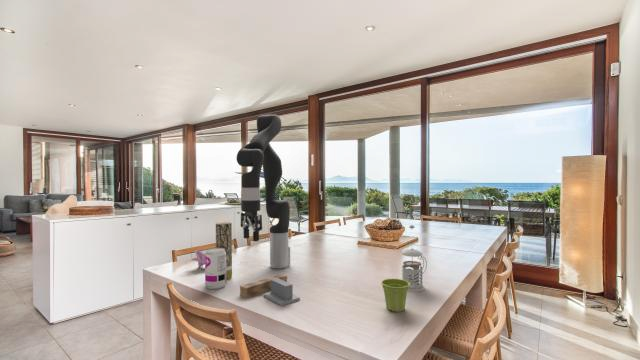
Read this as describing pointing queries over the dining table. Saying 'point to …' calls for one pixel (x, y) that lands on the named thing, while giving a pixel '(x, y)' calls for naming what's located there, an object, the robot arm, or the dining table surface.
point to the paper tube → (225, 243)
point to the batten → (259, 286)
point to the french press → (408, 273)
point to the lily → (199, 258)
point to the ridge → (281, 292)
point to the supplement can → (215, 268)
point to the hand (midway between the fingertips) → (251, 239)
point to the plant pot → (395, 293)
